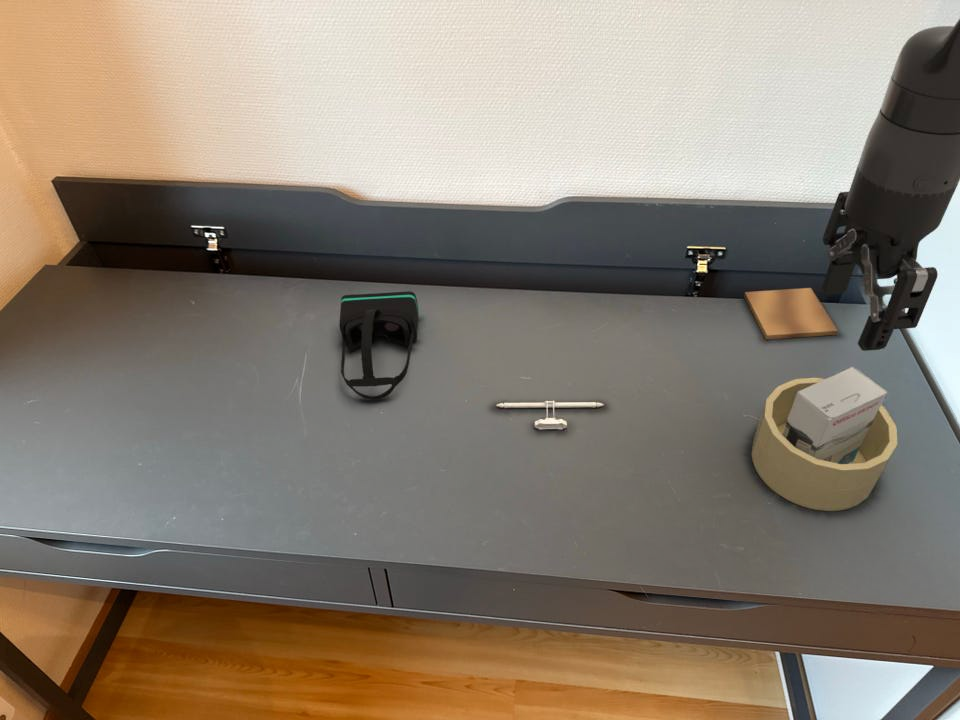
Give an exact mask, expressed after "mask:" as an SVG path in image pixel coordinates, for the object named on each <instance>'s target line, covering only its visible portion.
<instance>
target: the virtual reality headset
mask: <svg viewBox="0 0 960 720" xmlns="http://www.w3.org/2000/svg"><path fill="white" fill-rule="evenodd" d="M419 314H420V313H419V304H418V299H417V295H416V293H414V291H411V290H410V291H395V292H394V291H391V292H379V293H360V294H359V293H358V294H345V295H342V297H341V298H340V310H339V325H338V326H339V330H340V331H339V332H340V333H341V337H342V352H341V361H340V362H341V363H340V373H341V376H342V378H343V380H344V382H345V384H346V386H347V387H349V388H350V389H351V390H352V391H353V392H354V393H355V394H357V395H358V396H360V397H361V398H363V399H365V400H370V401H377V400H382V399H385V398H386V397H388V396H389V395H390V394H391V393H392V392H393V391H394V390H395V388H396V387H397V386H398V385H399V384H400V383H401V382H402V381H403V380H404V378H405V377H406V375H407V373H408V369H409V366H410V358H411V351H412V348H413V347H412V346H413V343H414V342H415V341H417V339H418V327H419ZM381 336H384V337H386V338H388V341H389V342H391V343H395V344H398V345H400V346H402V347H405V348H407V355H406V361H405V365H404V368H403V369H402V371H401V372H400V373H399V374H398V375H395V376H394V377H391V376H386V377H385V376H383V377H376V376H375V375H374V368H373V352H372V343H373V342H374V339H376V338H378V337H381ZM346 345H347V348H348V350H349V351H353V352H354V351H356V350H358V349H360V350H361V352H360V354H361V367H362V368H361V369H362V378H351V379H347V378H346V375H345V362H346V361H345V359H346ZM388 385H391V386H390V387H389V388H388V389H387V390H386V391H384V392H383V393H381V394H378V395H367V394H364V393H361V392H360V391H358V390H357V389H355V387H357V388H358V387H359V388H361V387H362V388H363V387H364V388H365V387H379V386H388Z"/></svg>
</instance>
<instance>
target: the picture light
mask: <svg viewBox="0 0 960 720" xmlns="http://www.w3.org/2000/svg"><path fill="white" fill-rule="evenodd" d="M602 406H604V403H601V402H596V401H592V402H591V401H590V402H589V401H588V402H587V401H585V402H579V401H577V402H575V401H574V402H572V401H571V402H556V401H555V400H554V399H553V400H547V399H546V400H545V401H544V402H501V403H497V404H496V405H495V407H498V408H502V409H503V408H504V409H519V408H520V409H522V408H523V409H529V408H530V409H531V408H533V409H534V408H536V409H539V408H540V409H541V408H546V417H545V418H544V419H542V418H540V419H538V420H535V421H534V428H535V429H538V430H559V431H560V430H563V429H565V428H566V429H567V427H568V422H567V421H566V420H564V419H562V418H559V419H557V418H556V417H555V408H592V409H593V408H594V409H595V408H600V407H602ZM548 408H550V409H551V408H552V414H553V416H552V417H548V416H549V411H548V410H549V409H548Z"/></svg>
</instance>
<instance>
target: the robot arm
mask: <svg viewBox="0 0 960 720" xmlns="http://www.w3.org/2000/svg"><path fill="white" fill-rule="evenodd" d="M861 151H862V152H861V154H860V158H859V161H858V163H857V167H856V170H855V173H854V175H853V178H852V182H851V185H850V187H849V190H848V191H839V193H838V194H837V198H836V200H835V203H834V205H833V208H832V211H831V214H830V216H829V219H828V222H827V225H826V227H825V230H824V233H823V235H822V243H823V245H824V246H829V250H828V254H827V255H828V259H829V261H830V262H829V265H828V267H827V270H826V274H825V277H824V280H823V283H822V287H821V290H822V291H823V292H824V294H825V295H827V296H830V295H841V294H844V293H845V292H846V291H847V289H848V287H849V284H850V281H851V278H852V276H853V273H854V271H855V268H856V266H858V267H859V268H860V270H861V273H862V274H863V284H864V286H863V287H864V289H863V291H864V294H865V295H866V296H867V297H869V306H870V307H869V309H870V310H869V313H870V315H868V318H867V319H866V322H865V325H864V327H863V329H862V331H861V334H860V336H859V339H858V341H857V346H858V347H859V348H860V350H861V351H864V352H866V351H880V350H883V349H885V348H886V347H887V346H888V343H889V341H890V339H891V337H892V335H893V332H894V330H904V329H905V330H906V329H915V328H916V327H917V326H918V324H919V322H920V320H921V317H922V315H923V313H924V310H925V308H926V305H927V303H928V301H929V299H930V296H931V294H932V292H933V288H934V287H935V284H936V282H937V279H938V270H937V268H936V267H934V266H930V267H929V266H928V267H923V266H922V265H921V264H920V262H918V261H917V258H918V249H919V245H920V242H921V241H923V239H925V238H926V237H927V236H928V235H929V236H930V234H931V233H933V232H935V231H936V229H938V228H939V226H940V225H941V223H942V221H943V219H944V216H945V214H946V212H947V209H948V207H949V205H950V204H951V201H952V198H953V196H954V195H955V192H956V189H957V187H958V185H959V182H960V18H959V19H958V20H957V21H956V22H955V25H941V26H933V27H928V28H924V29H922V30H919V31H917V32H916V33H914V34H913V35H911V36H910V37H909V38H908V39H907V40H906V42H905V43H904V45H903V46H902V48H901V50H900V51H899V54H898V56H897V59H896V62H895V64H894V67H893V70H892V72H891V76H890V78H889V81H888V85H887V88H886V91H885V94H884V97H883V99H882V102H881V106H880V108H879V110H878V113H877V116H876V118H875V120H874V122H873V123H872V126H871V127H870V130H869V132H868V134H867V137H866V139H865V142H864V145H863V148H862V150H861ZM841 227H845V228H844V230H843V231H839V232H838V229H839V228H841ZM894 277H896V278H894ZM892 278H894V279H893V285H882V286H881V285H880V284H879V283H878V280H886V279H887V280H889V279H892ZM889 295H890V298H889V299H888V303H887V306H886V307H884V297H885V296H889ZM906 309H907V311H906Z"/></svg>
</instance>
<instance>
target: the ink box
mask: <svg viewBox="0 0 960 720" xmlns="http://www.w3.org/2000/svg"><path fill="white" fill-rule="evenodd" d="M824 379H825V380H823V381H820V382H818V383H816V384H814V385H812V386H809V387H807V388H805V389H803V390H801V391H798V392H797V395H796V397H795V400H794V403H793V406H792V409H791V411H790V414H789V417H788V420H787V423H786V425H785V428H784V431H783V434H782V435H783V436H784V437H785V438H786V439H787V440H788V441H789V442H790V443H791V444H792V445H793V446H794V447H795V448H797V449H799V450H801V451H803V452H805V453H807V454H809V455H811V456H812V457H814V458H816V459H820V460H824V461H829V462H833V463H838V464H848V463H849V462H851V461H853V460H854V459H855V457H856V455H857V453H858V451H859V448H860V446H861V444H862V442H863V440H864V438H865V436H866V434H867V432H868V430H869V428H870V426H871V424H872V422H873V420H874V418H875V416H876V414H877V412H878V410H879V408H880V406H881V405H882V404H883V402H884V399H885V398H886V396H887V394H888V391H887V390H886V389H884V388H883V387H882V386H880V385H879V384H878V383H877V382H875V381H874V380H872V379H871V378H869V377H868V376H867V375H866V374H864V373H863V372H861V370H859V369H858V368H856V367H855V366H851V367H848V368H847V369H844V370H842V371H841V372H838V373H836V374H834V375H832V376H829V377H826V378H824Z"/></svg>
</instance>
